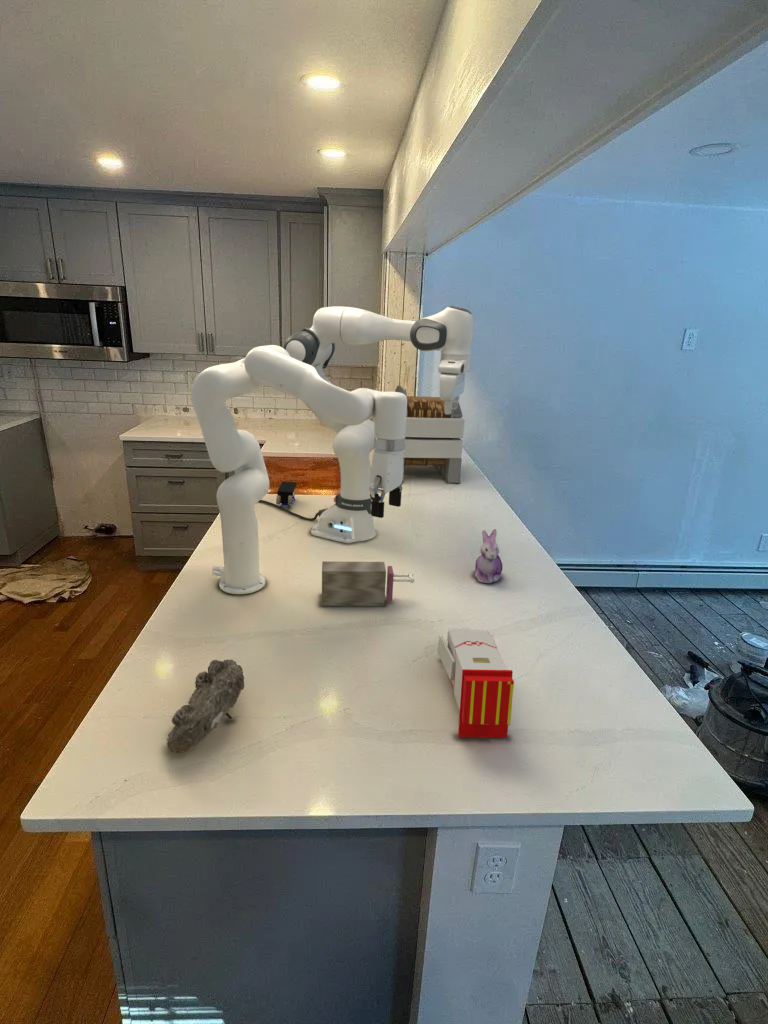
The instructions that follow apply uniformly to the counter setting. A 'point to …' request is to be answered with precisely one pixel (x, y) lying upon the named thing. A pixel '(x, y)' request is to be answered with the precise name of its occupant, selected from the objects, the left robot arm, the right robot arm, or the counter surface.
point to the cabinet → (353, 583)
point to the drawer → (390, 581)
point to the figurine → (488, 559)
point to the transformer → (433, 435)
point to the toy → (478, 682)
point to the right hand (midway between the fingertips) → (451, 411)
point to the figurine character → (286, 493)
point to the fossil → (206, 705)
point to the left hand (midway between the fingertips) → (386, 511)
